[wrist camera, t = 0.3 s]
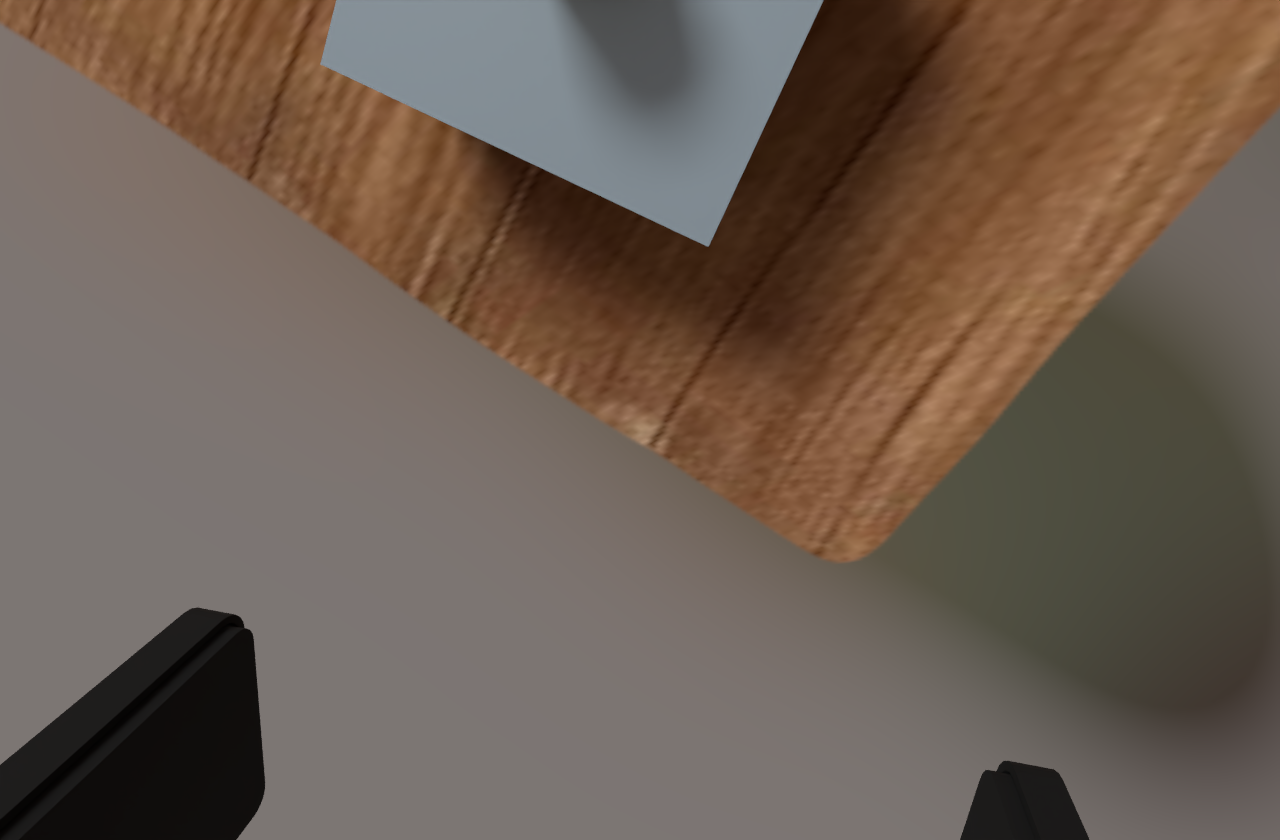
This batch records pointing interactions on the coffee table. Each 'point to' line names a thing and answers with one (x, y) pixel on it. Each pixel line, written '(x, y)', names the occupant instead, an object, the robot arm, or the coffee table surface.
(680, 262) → the coffee table surface
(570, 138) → the lid
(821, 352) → the coffee table surface
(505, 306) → the coffee table surface
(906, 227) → the coffee table surface
